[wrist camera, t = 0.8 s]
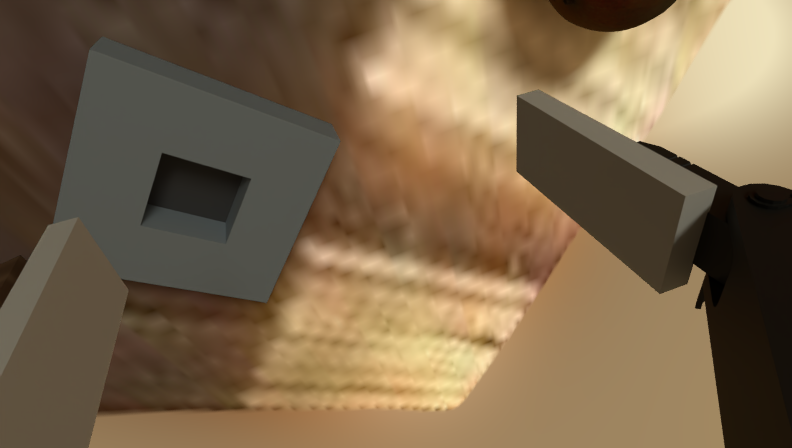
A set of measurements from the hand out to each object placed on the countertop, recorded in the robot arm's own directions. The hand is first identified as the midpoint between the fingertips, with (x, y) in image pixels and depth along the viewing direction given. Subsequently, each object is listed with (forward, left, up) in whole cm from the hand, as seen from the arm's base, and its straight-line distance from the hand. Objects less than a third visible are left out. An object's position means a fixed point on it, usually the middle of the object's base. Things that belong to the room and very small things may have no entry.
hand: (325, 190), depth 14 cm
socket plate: (-1, -12, -23) cm, 26 cm away
